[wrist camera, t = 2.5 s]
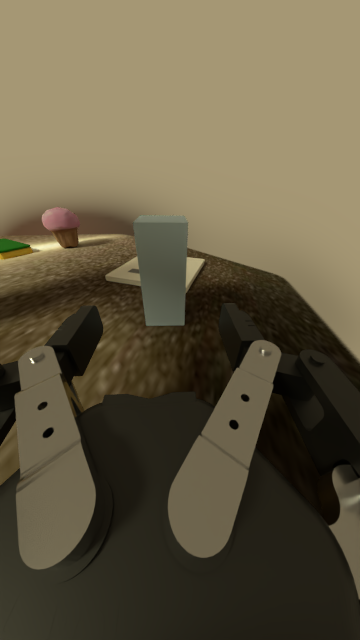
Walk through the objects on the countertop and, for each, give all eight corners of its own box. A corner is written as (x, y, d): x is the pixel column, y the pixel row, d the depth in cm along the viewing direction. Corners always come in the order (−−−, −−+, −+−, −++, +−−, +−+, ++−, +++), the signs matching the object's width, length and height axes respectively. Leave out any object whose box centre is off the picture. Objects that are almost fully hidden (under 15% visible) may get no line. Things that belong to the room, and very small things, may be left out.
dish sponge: (3, 261, 43) (-3, 251, 42) (-22, 252, 49) (-28, 243, 47) (34, 254, 48) (30, 244, 47) (9, 246, 54) (4, 238, 52)
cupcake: (84, 241, 58) (74, 205, 52) (87, 248, 52) (76, 208, 46) (53, 244, 54) (38, 206, 49) (52, 252, 48) (34, 209, 42)
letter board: (106, 280, 34) (105, 275, 34) (144, 256, 46) (143, 252, 46) (186, 293, 30) (186, 288, 30) (204, 263, 43) (204, 259, 42)
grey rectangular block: (146, 325, 23) (133, 222, 16) (149, 305, 27) (140, 215, 20) (184, 325, 23) (187, 222, 16) (182, 305, 27) (184, 215, 20)
